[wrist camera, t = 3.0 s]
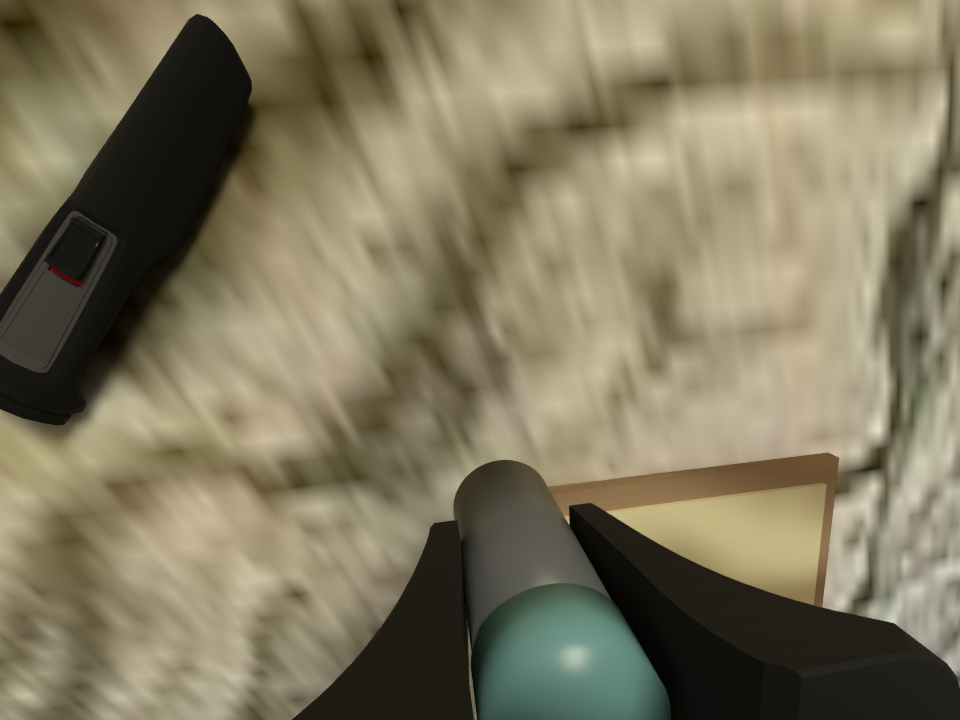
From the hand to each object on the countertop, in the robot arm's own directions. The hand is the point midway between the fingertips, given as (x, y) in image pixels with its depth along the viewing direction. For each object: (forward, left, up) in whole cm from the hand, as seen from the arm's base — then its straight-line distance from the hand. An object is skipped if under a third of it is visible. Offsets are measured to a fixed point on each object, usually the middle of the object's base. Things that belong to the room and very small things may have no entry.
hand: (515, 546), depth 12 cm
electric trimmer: (+9, +13, -9) cm, 18 cm away
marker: (0, 0, -2) cm, 2 cm away
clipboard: (-9, -9, -8) cm, 15 cm away
